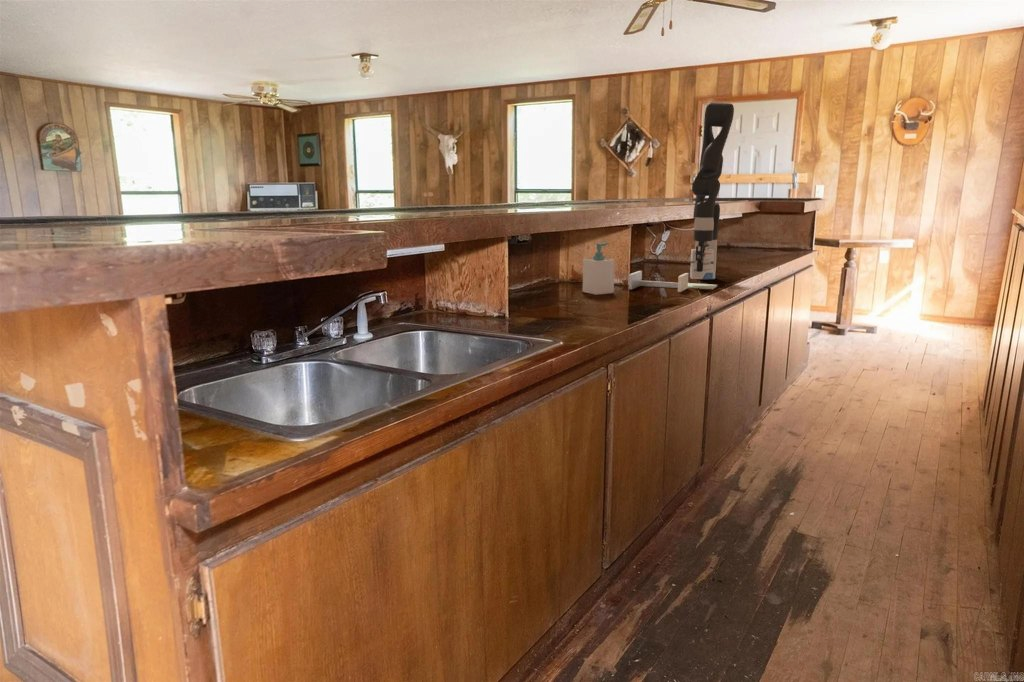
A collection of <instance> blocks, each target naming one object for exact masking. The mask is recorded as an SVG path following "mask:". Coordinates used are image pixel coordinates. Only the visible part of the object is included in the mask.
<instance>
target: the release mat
mask: <svg viewBox="0 0 1024 682" xmlns="http://www.w3.org/2000/svg"><path fill="white" fill-rule="evenodd" d="M717 287H718V284H708V283H694V282H693V283H692V282H688V288H687V289H698V288H699V289H701V290H714V289H715V288H717Z"/></svg>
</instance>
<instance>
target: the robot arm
mask: <svg viewBox="0 0 1024 682" xmlns="http://www.w3.org/2000/svg"><path fill="white" fill-rule="evenodd" d="M734 112H735V106H734V104H733V103H729V102H708V103H707V104H706V105H705V111H704V117H703V118H704V119H703V137H702V148H701V153H700V160H699V168H698V169H699V170H698V172H697V174H696V176H695V178H694V179H693V182H692V185H691V192H692V193H693V195H695V196H696V197H695V202H694V208H693V213H692V214H693V215H692V217H693V218H692V219H693V222H694V224H693V241H694V242H695V246H694V249H696V261H697V272H702V271H703V261H704V257H705V255H706V250H708V249H712V250H714V265H713V279H712V280H715V279H716V270H717V269H716V267H717V255H718V254H717V252H718V236H719V223H720V216H721V206H720V204H719V202H717V198H718V195H719V193H720V190H721V183H720V180H719V179H720V177H721V176H722V171H723V167H724V165H723V164H724V157H723V151H724V148H725V146H726V142H727V139H728V136H729V133H730V130H731V127H732V123H733V120H734V114H735V113H734ZM713 127H715V128H720V129H721V130H720V131H719V133H718V134H717V136H716V137H715V136H714V132H713ZM706 197H708V198H707V199H706ZM705 199H706V201H705ZM703 253H704V254H703ZM699 257H701V258H699Z"/></svg>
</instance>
